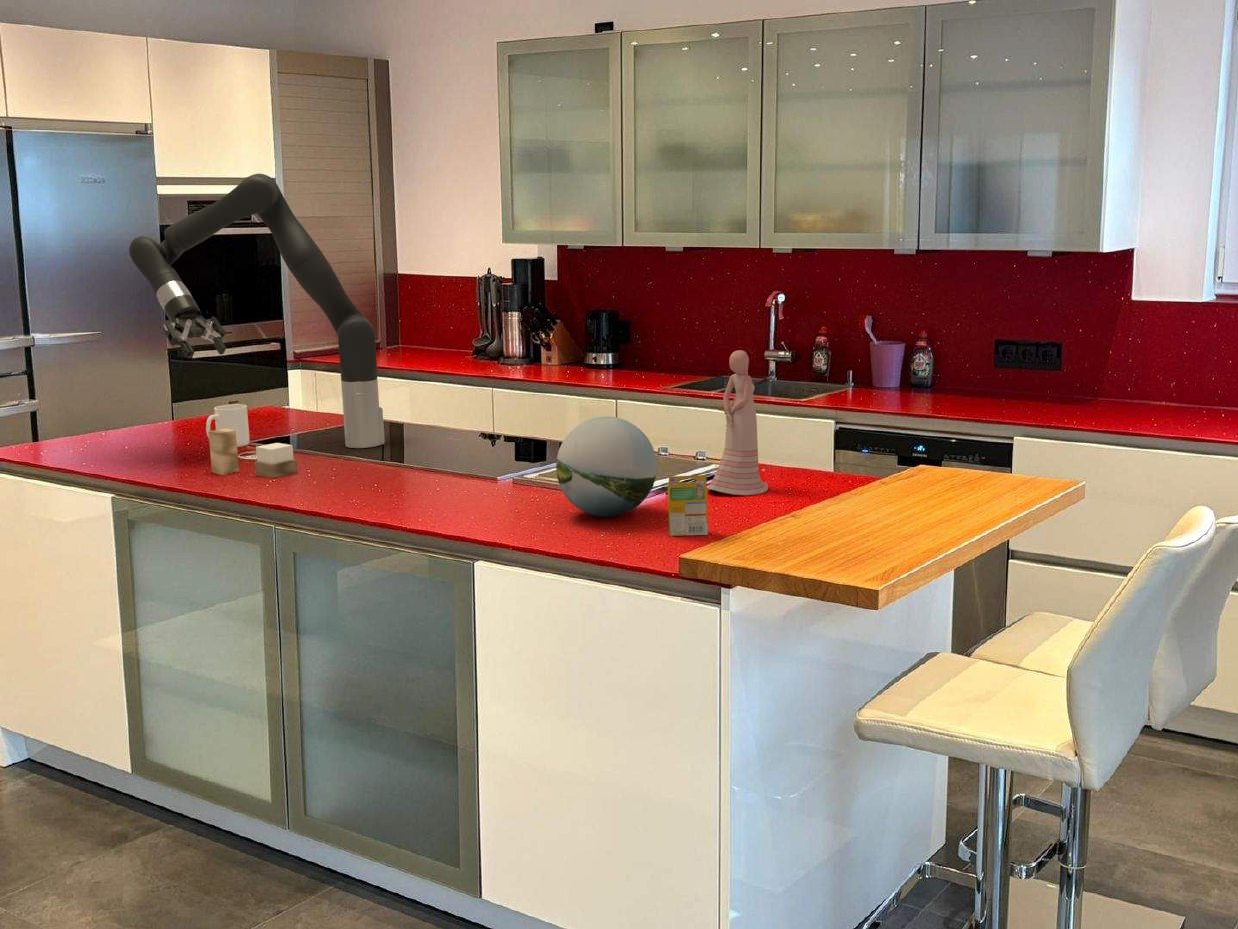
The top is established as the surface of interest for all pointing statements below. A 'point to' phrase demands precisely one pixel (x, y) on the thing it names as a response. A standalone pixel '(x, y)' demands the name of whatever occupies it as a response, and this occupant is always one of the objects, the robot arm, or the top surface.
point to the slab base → (276, 469)
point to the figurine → (739, 436)
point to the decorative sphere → (606, 466)
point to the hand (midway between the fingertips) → (207, 353)
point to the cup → (231, 421)
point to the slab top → (274, 453)
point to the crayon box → (687, 506)
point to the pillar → (223, 451)
